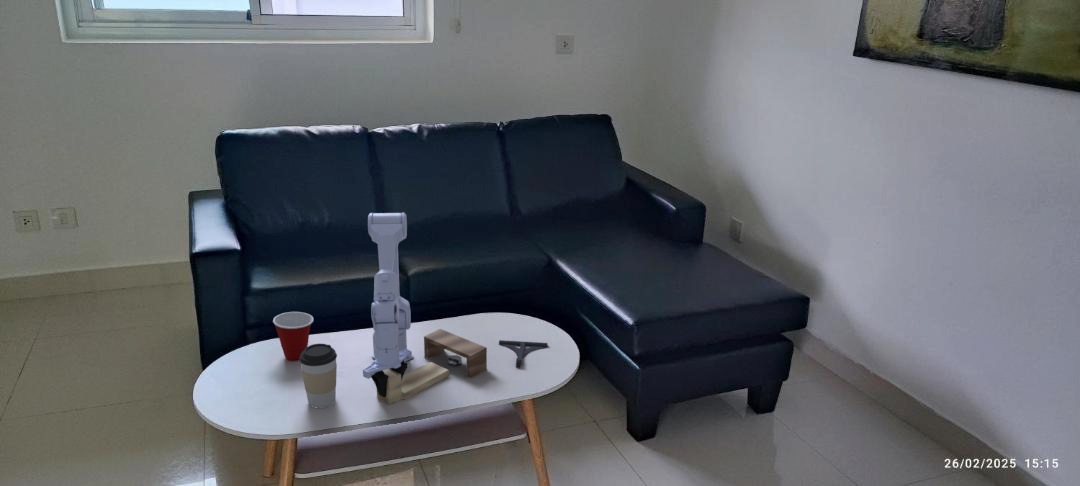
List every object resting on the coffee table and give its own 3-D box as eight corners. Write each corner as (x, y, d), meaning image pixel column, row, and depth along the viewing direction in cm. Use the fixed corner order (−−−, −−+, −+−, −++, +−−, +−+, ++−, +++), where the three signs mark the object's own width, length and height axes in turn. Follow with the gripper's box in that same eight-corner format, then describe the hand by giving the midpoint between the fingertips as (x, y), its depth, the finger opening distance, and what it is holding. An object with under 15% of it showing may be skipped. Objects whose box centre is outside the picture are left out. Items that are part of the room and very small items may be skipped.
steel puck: (444, 364, 208) (444, 358, 208) (454, 359, 211) (454, 353, 211) (454, 369, 206) (454, 363, 206) (464, 363, 209) (464, 358, 209)
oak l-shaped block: (374, 396, 191) (373, 372, 189) (430, 367, 206) (429, 345, 204) (392, 405, 187) (391, 381, 185) (448, 375, 202) (448, 352, 200)
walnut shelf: (424, 357, 212) (423, 336, 209) (440, 349, 216) (440, 328, 214) (470, 378, 201) (470, 356, 199) (486, 369, 206) (486, 347, 204)
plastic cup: (319, 361, 208) (316, 322, 204) (279, 368, 204) (275, 329, 200) (313, 345, 217) (310, 307, 213) (274, 351, 213) (270, 313, 209)
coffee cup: (305, 413, 183) (300, 359, 178) (301, 395, 191) (296, 343, 186) (342, 406, 186) (339, 353, 181) (337, 389, 194) (333, 337, 189)
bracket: (492, 368, 208) (492, 359, 207) (499, 344, 222) (499, 335, 221) (543, 371, 207) (543, 363, 206) (547, 347, 221) (547, 339, 220)
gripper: (375, 360, 178) (377, 409, 182) (419, 339, 189) (420, 386, 193) (356, 351, 182) (359, 399, 186) (400, 331, 193) (402, 377, 197)
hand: (389, 392), depth 190 cm, fingers closed on oak l-shaped block, 4 cm apart
